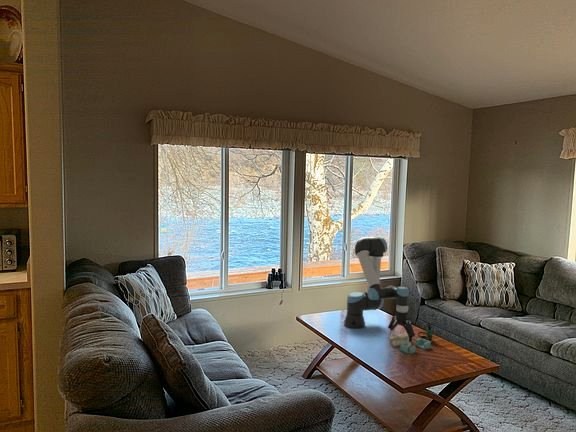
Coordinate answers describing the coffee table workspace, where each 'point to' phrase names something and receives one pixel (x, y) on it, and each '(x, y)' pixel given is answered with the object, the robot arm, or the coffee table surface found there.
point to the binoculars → (429, 334)
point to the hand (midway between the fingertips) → (400, 343)
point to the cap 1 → (407, 349)
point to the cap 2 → (423, 343)
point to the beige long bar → (398, 339)
